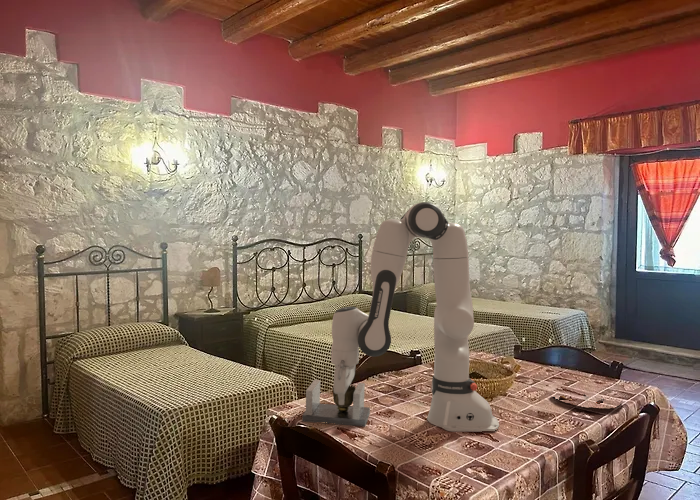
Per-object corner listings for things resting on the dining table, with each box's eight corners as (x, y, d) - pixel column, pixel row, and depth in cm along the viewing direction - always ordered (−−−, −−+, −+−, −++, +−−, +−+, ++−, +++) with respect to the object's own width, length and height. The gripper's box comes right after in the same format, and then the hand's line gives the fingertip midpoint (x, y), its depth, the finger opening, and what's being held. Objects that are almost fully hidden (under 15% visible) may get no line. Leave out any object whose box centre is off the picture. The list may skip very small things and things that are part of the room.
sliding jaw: (319, 403, 184) (320, 380, 184) (311, 415, 172) (312, 390, 172) (313, 402, 184) (314, 379, 184) (305, 414, 172) (306, 390, 172)
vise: (369, 413, 181) (370, 383, 181) (365, 426, 170) (366, 394, 169) (310, 408, 184) (311, 379, 184) (302, 421, 173) (303, 389, 172)
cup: (351, 416, 173) (352, 391, 172) (328, 413, 175) (329, 388, 174) (356, 408, 180) (357, 384, 179) (335, 404, 182) (336, 381, 181)
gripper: (349, 365, 165) (348, 411, 166) (359, 350, 185) (358, 390, 186) (329, 364, 166) (328, 409, 167) (340, 349, 186) (339, 389, 187)
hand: (344, 399), depth 176 cm, fingers open, 8 cm apart
